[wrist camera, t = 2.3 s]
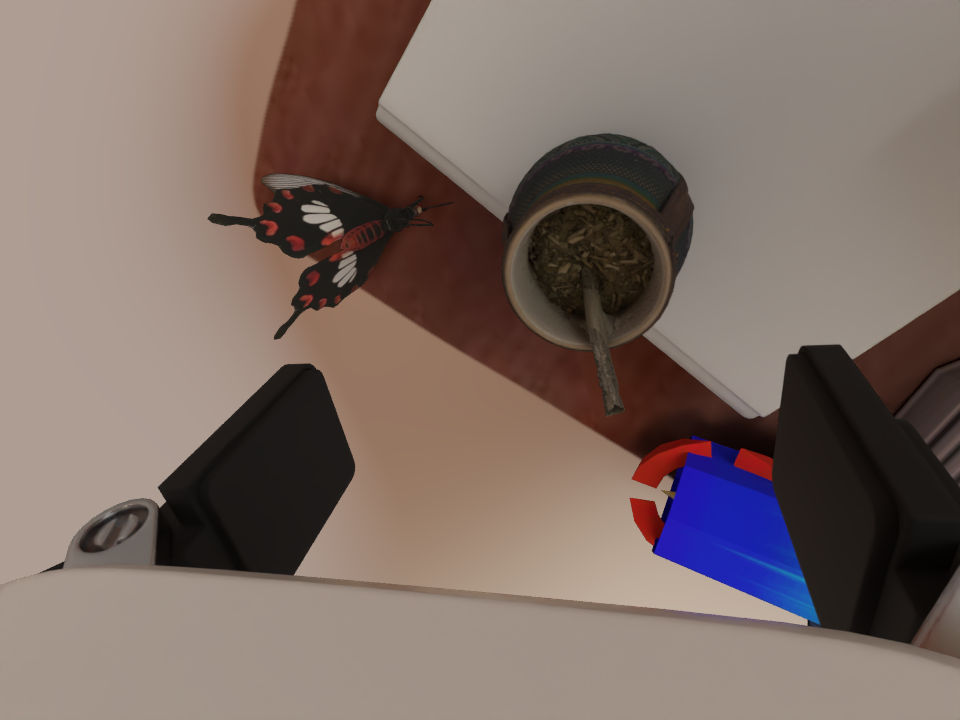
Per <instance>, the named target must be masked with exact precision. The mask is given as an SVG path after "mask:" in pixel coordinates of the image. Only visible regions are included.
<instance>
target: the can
mask: <svg viewBox="0 0 960 720" xmlns="http://www.w3.org/2000/svg"><path fill="white" fill-rule="evenodd" d="M894 418H895V419H897V418H901V419H904V420H907V421H908V422H909V423H910V424H911V425H912V426H913V427H914V428H915V429H916V430H917V432H918V433H919V434H920V436H921V437H922V438H923V440H924V441H925V442H926V444H927V445H928V446H929V448H930V449H931V450H932V451H933V453H934V454H935V455H936V457H937V458H938V459H939V461H940V462H941V463H942V465H943V466H944V467H945V468H946V470H947V471H948V472H949V474H950V475H951V476H952V478H953V479H954V480H955V482H956V483H957V484H958V486H959V487H960V360H958V361H956V362H953V363H951V364H948V365H946V366H943V367H941V368H938V369H936V370H935V371H934V372H933V374H932V375H931V376H930V377H929V378H928V379H927V380H926V382H925V383H924V384H923V385H922V386H921V387H920V388H919V389H918V391H917V392H916V393H915V394H914V395H913V396H912V397H911V398H910V400H909V401H908V402H907V403H906V404H905V405H904V406H903V408H902V409H901V410H900V411H899V412H898V413H897V414H896V415H895V417H894Z"/></svg>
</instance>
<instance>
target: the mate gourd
mask: <svg viewBox="0 0 960 720" xmlns="http://www.w3.org/2000/svg"><path fill="white" fill-rule="evenodd" d="M694 208H695V207H694V204H693V202H692V200H691V197H690V196H689V194H688V186H687V183H686V181H685V179H684V177H683V175H682V174H681V173H680V172H678V171H677V170H676V169H675V168H674V166H673V165H672V164H671V163H670V162H669V161H668V160H666V159H665V157H664V156H663V155H662V154H661V153H659V152H658V151H657V150H656V149H655V148H654V147H652V146H651V145H650V146H648V145H647V144H646V143H643V142H641V141H639V140H637V139H634V138H632V137H627V136H624V135H619V134H611V133H607V134H606V133H604V134H597V135H586V136H580V137H577V138H575V139H572V140H570V141H567V142H565V143H563V144H561V145H559V146H557V147H556V148H553V149H552V150H551V151H549V152H547V153H546V154H545V155H543V157H541V158H540V159H539V160H538V161H537V162H536V163H534V165H533V166H532V168H531V169H530V170H529V171H528V172H527V173H526V174H525V176H524V177H523V179H522V181H521V182H520V183H519V184H518V187H517V189H516V191H515V193H514V195H513V198H512V201H511V203H510V206H509V211H508V212H507V213H506V215H505V216H504V219H503V231H502V243H503V248H504V251H503V256H502V257H503V260H502V270H501V271H502V284H503V287H504V290H505V294H506V297H507V299H508V302H509V304H510V305H511V307H512V309H513V311H514V312H515V314H516V315H517V317H518V318H519V319H520V321H522V323H523V324H524V325H525V326H526V327H528V328H529V329H530V330H531V331H532V332H533V333H535V334H536V335H538V336H539V337H541V338H542V339H544V340H546V341H547V342H549V343H551V344H554V345H556V346H559V347H562V348H565V349H569V350H574V351H584V352H593V353H594V354H595V356H594V359H595V363H596V366H597V373H598V375H597V376H598V379H600V380H599V387H602V389H603V390H602V396H603V402H604V408H605V413H606V414H605V416H610V415H611V414H612V415H615V414H619V413H622V412H624V411H625V409H624V405H623V402H622V399H621V398H620V396H619V388H618V382H617V378H616V374H615V371H614V366H613V364H612V359H611V354H610V351H609V349H612V348H616V347H619V346H622V345H624V344H627V343H629V342H631V341H633V340H635V339H637V338H638V337H640V336H641V335H643V334H644V333H646V332H647V331H649V329H650V328H651V327H653V326H654V324H655V323H656V322H657V321H658V320H659V319H660V318H661V316H662V314H663V313H664V311H665V309H666V308H667V306H668V303H669V301H670V298H671V296H672V293H673V292H674V290H673V289H674V286H675V285H674V284H675V280H676V277H677V275H678V274H679V272H680V270H681V268H682V266H683V264H684V262H685V259H686V257H687V253H688V251H689V249H690V245H691V240H692V235H693V224H694V222H693V211H694Z"/></svg>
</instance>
